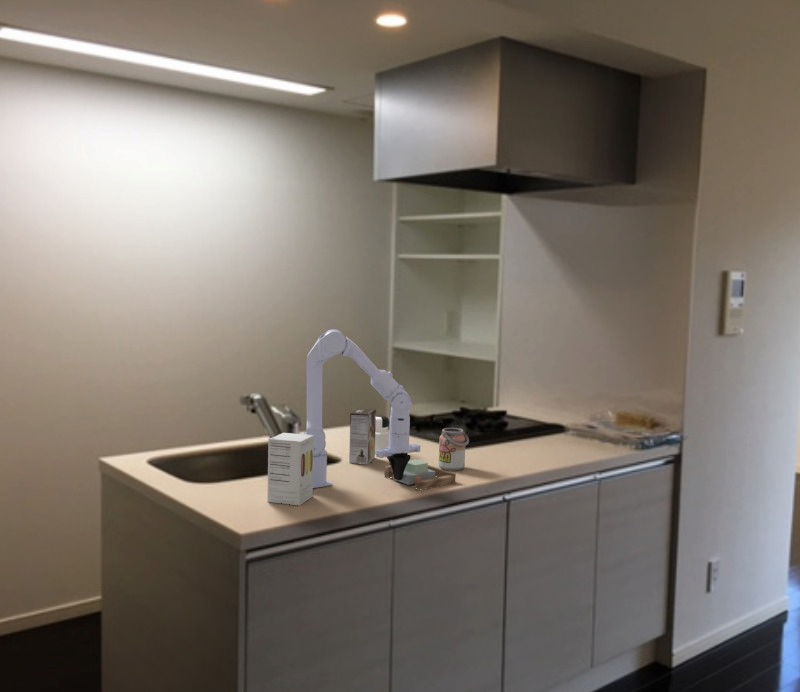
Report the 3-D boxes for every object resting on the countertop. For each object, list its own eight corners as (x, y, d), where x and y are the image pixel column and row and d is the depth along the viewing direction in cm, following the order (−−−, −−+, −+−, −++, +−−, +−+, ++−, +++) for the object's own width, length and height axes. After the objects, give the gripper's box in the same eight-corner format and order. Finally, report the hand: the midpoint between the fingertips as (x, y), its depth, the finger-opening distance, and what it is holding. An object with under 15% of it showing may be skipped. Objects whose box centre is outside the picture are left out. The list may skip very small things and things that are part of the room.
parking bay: (419, 490, 223) (420, 477, 222) (384, 477, 235) (384, 465, 235) (456, 482, 232) (456, 470, 231) (420, 470, 244) (421, 459, 244)
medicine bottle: (377, 448, 273) (378, 413, 272) (393, 451, 268) (394, 416, 267) (363, 451, 267) (364, 416, 266) (379, 455, 263) (380, 419, 262)
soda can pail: (472, 469, 248) (474, 431, 246) (453, 473, 242) (455, 434, 241) (451, 463, 254) (453, 426, 253) (432, 467, 249) (433, 429, 248)
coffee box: (356, 456, 260) (357, 407, 258) (375, 458, 259) (376, 409, 257) (348, 463, 251) (349, 412, 249) (368, 464, 250) (369, 414, 248)
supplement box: (299, 506, 205) (300, 441, 203) (266, 502, 207) (267, 438, 205) (313, 496, 214) (314, 434, 212) (281, 492, 216) (282, 431, 215)
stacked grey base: (408, 486, 226) (408, 467, 226) (393, 481, 232) (393, 462, 231) (434, 481, 232) (435, 462, 232) (419, 476, 238) (419, 458, 237)
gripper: (387, 437, 219) (386, 486, 220) (427, 432, 228) (426, 478, 229) (372, 433, 224) (371, 480, 226) (412, 427, 234) (410, 473, 235)
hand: (398, 479), depth 228 cm, fingers closed
